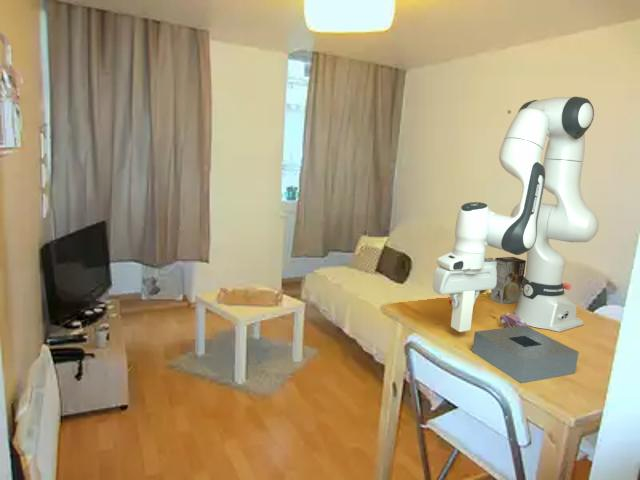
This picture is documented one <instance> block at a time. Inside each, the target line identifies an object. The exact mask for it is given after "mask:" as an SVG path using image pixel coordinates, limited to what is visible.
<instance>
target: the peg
mask: <svg viewBox="0 0 640 480" xmlns="http://www.w3.org/2000/svg"><path fill="white" fill-rule="evenodd" d="M474 296H475V291H469V292H462V293H458V296H456V298H457V300H458V301H460V304H459V307H453V306H452V311H451V320H450V327H451V328H452V329H454V330H455V331H457V332H467V331H471V330H472V329H471V328H472V319H473V310H474V305H475V304H474ZM473 304H474V305H473Z"/></svg>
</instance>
